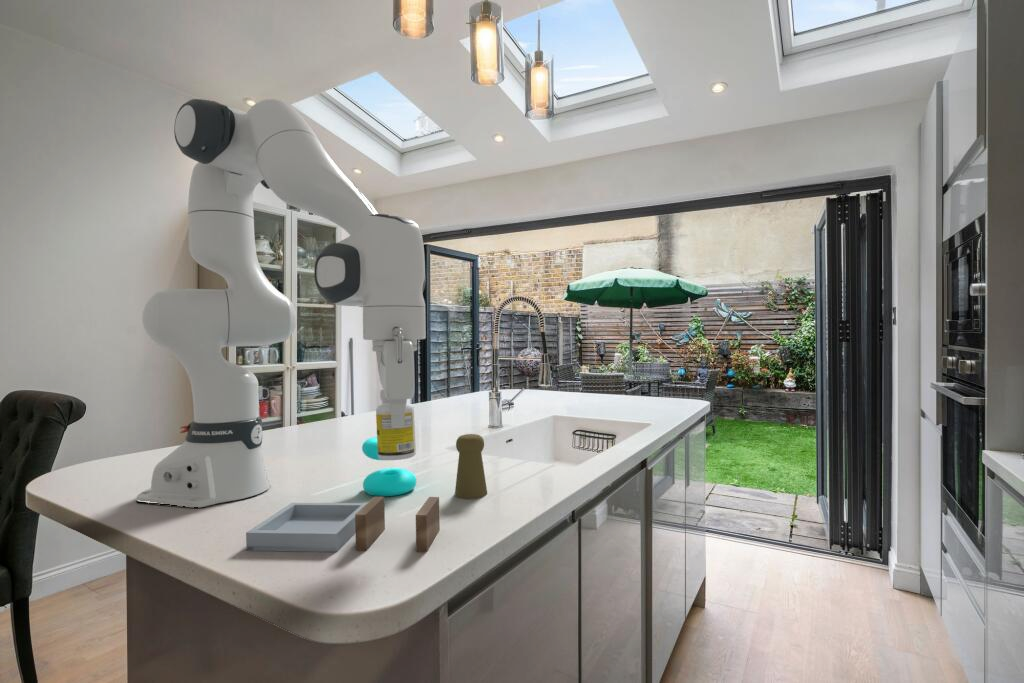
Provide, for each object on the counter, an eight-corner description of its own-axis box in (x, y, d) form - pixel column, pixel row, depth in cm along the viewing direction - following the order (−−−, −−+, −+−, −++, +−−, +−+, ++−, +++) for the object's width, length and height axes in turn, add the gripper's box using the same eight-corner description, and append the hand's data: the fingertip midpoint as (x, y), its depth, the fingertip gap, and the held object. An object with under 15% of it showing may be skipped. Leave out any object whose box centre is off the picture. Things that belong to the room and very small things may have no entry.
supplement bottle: (385, 454, 79) (383, 388, 79) (420, 453, 78) (418, 387, 79) (371, 461, 74) (369, 391, 74) (409, 460, 73) (406, 390, 73)
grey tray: (246, 550, 73) (246, 532, 73) (292, 517, 86) (292, 502, 86) (336, 551, 72) (336, 533, 72) (369, 518, 85) (369, 503, 85)
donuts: (351, 442, 97) (378, 432, 107) (352, 496, 97) (379, 481, 107) (400, 444, 95) (423, 434, 104) (401, 500, 95) (425, 484, 104)
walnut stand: (355, 550, 73) (355, 514, 73) (375, 529, 81) (374, 496, 81) (427, 551, 72) (426, 515, 72) (439, 529, 80) (439, 496, 80)
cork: (482, 499, 94) (481, 438, 94) (450, 498, 95) (449, 437, 95) (490, 489, 100) (489, 432, 100) (460, 488, 101) (459, 431, 101)
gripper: (425, 327, 67) (426, 435, 67) (410, 327, 86) (411, 411, 87) (373, 327, 65) (375, 438, 65) (370, 327, 85) (372, 413, 85)
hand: (396, 423), depth 76 cm, fingers closed on supplement bottle, 5 cm apart
